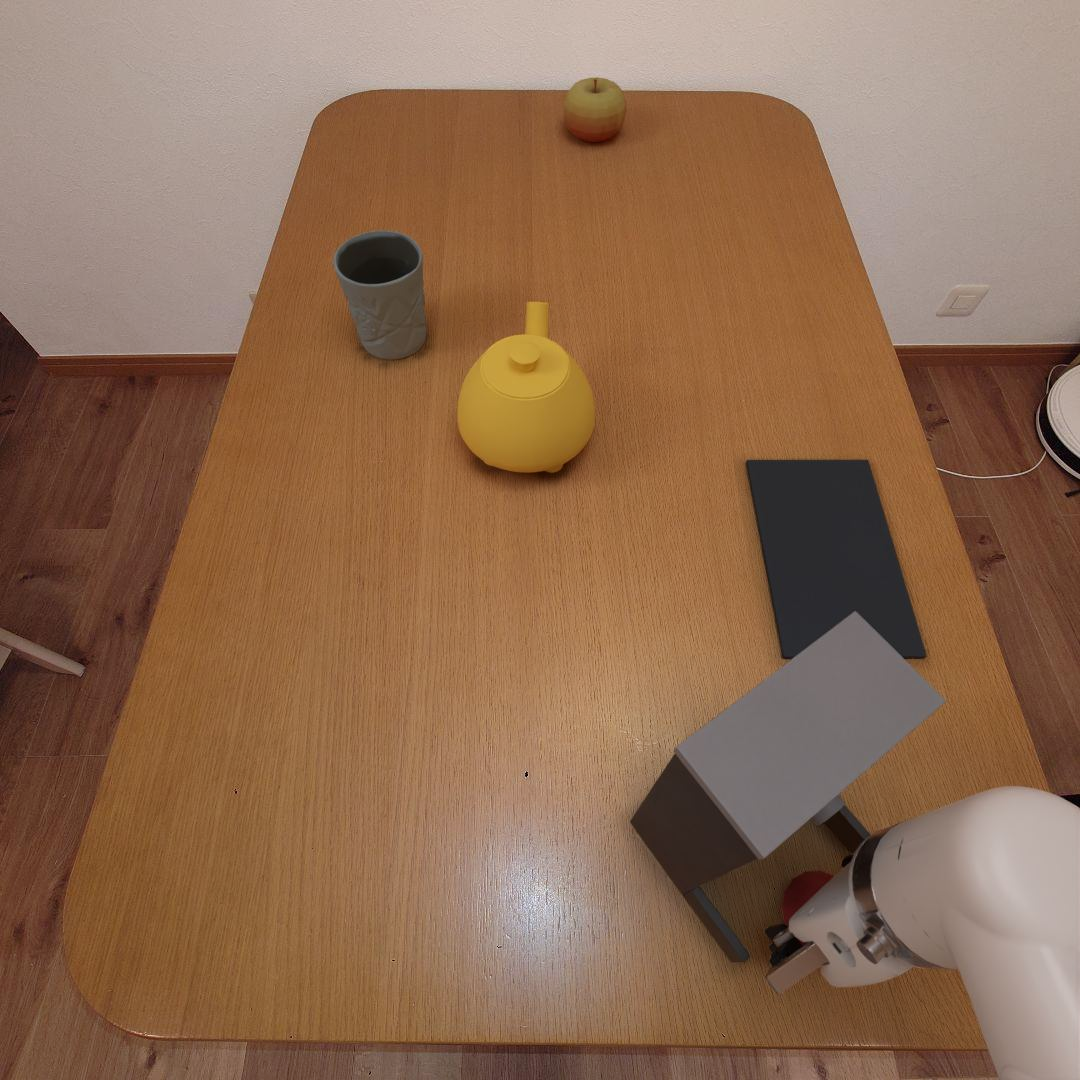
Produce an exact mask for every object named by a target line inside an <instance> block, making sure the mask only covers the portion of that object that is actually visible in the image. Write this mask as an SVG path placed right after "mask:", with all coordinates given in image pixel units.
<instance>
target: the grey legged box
mask: <svg viewBox="0 0 1080 1080" xmlns="http://www.w3.org/2000/svg"><path fill="white" fill-rule="evenodd" d="M946 703H947V700H946V699H945V697H943V696H942V694H941V693H939V692H938V690H936V689H935V688H934V687H933V686H932V684H931V683H930V682H928V681H927V680H926V678H924V677H923V676H922V675H921V673H919V672H918V671H917V670H916V669H915V668H914V667H913V666H912V665H911V664H910V663H909V662H908V661H907V659H906V658H903V657H902V656H901V655H900V654H899V653H898V652H897V651H896V650H895V649H894V648H893V647H892V646H891V645H890V644H889V643H888V642H887V641H885V640H884V639H883V638H882V637H881V636H880V635H879V634H878V633H877V632H876V631H875V630H874V629H873V628H872V627H871V626H870V625H869V624H868V623H867V622H866V621H865V620H864V619H863V618H862V617H861V616H860V615H859V614H858V613H857V612H856V611H855V612H853V613H852V614H851V615H849V616H848V617H847V618H845V619H844V620H843V621H841V622H840V623H839V624H837V625H836V626H835V627H833V628H832V629H831V630H829V631H828V632H827V633H826V634H824V635H823V636H822V637H820V638H819V639H818V640H816V641H815V642H814V643H812V644H811V645H810V646H808V647H807V648H806V649H804V650H803V651H802V652H800V653H799V654H798V655H796V656H795V657H794V658H793V659H789V660H788V662H786V663H784V664H783V665H782V666H781V667H779V668H778V669H777V670H775V671H773V673H771V674H770V675H769V676H768V677H766V678H765V679H763V680H762V681H761V682H759V683H758V684H757V685H755V686H754V687H753V688H752V689H751V690H749V691H748V692H746V693H745V694H743V695H742V696H741V697H740V698H738V699H737V700H736V701H734V702H733V703H731V704H730V705H729V706H728V707H727V708H725V709H724V710H723V711H721V712H720V713H718V714H717V715H716V716H715V717H713V718H712V719H711V720H709V721H707V723H706V724H704V725H703V726H701V727H700V728H698V729H697V730H696V731H694V732H693V733H692V734H691V735H690V736H688V737H687V738H686V739H684V740H683V741H682V742H680V743H678V745H676V747H675V748H674V749H673V753H674V754H673V756H672V757H671V759H670V760H669V761H668V763H667V764H666V765H665V767H664V769H663V770H662V771H661V773H660V775H659V777H658V778H657V780H656V781H655V782H654V783H653V785H652V787H651V789H650V790H649V791H648V793H647V794H646V796H645V798H644V799H643V800H642V802H641V804H640V805H639V807H638V809H637V810H636V812H635V813H634V815H633V816H632V817H631V819H630V820H629V824H630V825H631V826H632V827H633V829H634V830H635V832H636V833H637V835H638V836H639V837H640V839H641V840H642V841H643V843H644V844H645V846H646V847H647V848H648V850H649V851H650V853H651V854H652V855H653V856H654V858H655V860H656V861H657V862H658V863H659V865H660V866H661V868H662V869H663V870H664V872H665V873H666V875H667V876H668V878H669V879H670V880H671V882H672V883H673V884H674V886H675V887H676V888H677V890H678V892H679V893H680V894H681V895H682V897H683V898H684V899H685V901H686V902H687V904H688V905H689V907H690V908H691V909H692V911H693V912H694V913H695V915H696V916H697V917H698V919H699V920H700V921H701V923H702V925H703V926H704V927H705V929H706V930H707V931H708V933H709V934H710V936H711V937H712V938H713V940H714V941H715V943H716V944H717V945H718V947H719V948H720V950H721V951H722V952H723V954H724V955H725V957H726V958H727V959H728V960H729V962H730V963H731V964H732V963H733V964H735V963H736V964H737V963H740V964H741V963H743V964H744V963H746V962H747V961H748V960H749V959H750V958H751V954H750V952H749V951H748V950H747V948H746V947H745V946H744V944H743V943H742V941H741V939H739V938H738V936H737V935H736V933H735V932H734V931H733V929H732V928H731V926H730V925H729V923H727V921H726V920H725V919H724V917H723V915H722V914H721V913H720V912H719V910H718V909H717V908H716V906H715V905H714V903H713V902H712V901H711V900H710V898H709V896H708V895H707V893H705V891H704V890H703V889H702V887H701V886H703V885H705V884H707V883H709V882H711V881H713V880H716V879H718V878H720V877H722V876H724V875H727V874H729V873H731V872H732V871H735V870H736V869H739V868H741V867H743V866H745V865H748V864H749V863H751V862H754V861H756V860H759V861H762V860H764V859H766V858H767V857H768V856H769V855H770V854H771V853H773V852H774V851H775V850H776V849H777V848H778V847H779V846H781V845H782V844H783V843H785V841H787V840H788V839H789V838H790V837H792V836H793V835H794V834H795V833H796V832H798V830H800V829H801V828H802V827H803V826H804V825H806V823H807V822H808V821H810V820H811V822H812V823H813V824H814V825H815V826H816V827H819V826H821V825H822V824H824V823H825V824H826V825H827V826H828V828H829V829H830V830H831V831H832V832H833V833H834V834H835V836H836V837H837V838H838V839H839V840H840V842H841V843H842V844H843V845H844V846H845V847H846V849H847V850H848V851H849V852H850V853H851V855H853V854H854V853H855V851H856V850H857V848H858V847H859V845H860V844H861V843H862V842H863V841H864V840H865V839H866V838H867V837H868V836H870V835H871V834H872V833H870V832H869V831H868V830H867V828H866V827H865V826H864V825H863V824H862V823H861V821H859V819H858V818H857V817H856V816H855V815H854V814H853V812H852V811H851V810H850V809H849V808H848V807H847V806H846V801H845V800H844V799H843V797H841V795H840V794H841V793H842V792H843V791H845V790H846V789H847V788H848V787H849V786H850V785H852V784H853V783H854V782H855V781H856V780H857V779H859V778H860V777H861V776H862V775H863V774H864V773H865V772H867V771H868V770H870V768H872V766H874V765H875V764H876V763H877V762H878V761H879V760H881V759H882V758H883V757H884V756H885V755H886V754H888V753H889V752H890V751H891V750H892V749H893V748H895V747H896V746H897V745H898V744H900V742H902V741H903V740H904V739H905V738H906V737H908V735H910V734H911V733H912V732H914V731H915V729H917V728H918V727H919V726H920V725H921V724H922V723H924V722H925V721H926V720H927V719H928V718H930V717H931V716H932V715H933V714H935V712H936V711H938V710H939V709H941V707H942V706H943V705H944V704H946Z"/></svg>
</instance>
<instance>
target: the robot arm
mask: <svg viewBox="0 0 1080 1080" xmlns="http://www.w3.org/2000/svg"><path fill="white" fill-rule="evenodd" d="M870 834H871V835H870V836H868V837H867V838H866V839H865V840H864V841H863V842H862V843H861V844H860V845H859V847H858V848H857V850H856V851H855V853H853V854H850V855H848V856H845V857H844V858H843V859H842V860H841V861H840V866H841V868H842V869H840V870H839V871H838V872H837V873H836V874H835V876H834V877H833V878H832V879H831V880H830V881H829V882H828V883H826V884H825V885H824V886H823V887H822V888H821V889H820V890H819V891H818V892H817V893H816V894H815V895H814V896H813V897H812V898H811V899H810V900H809V901H808V902H806V903H805V904H804V905H803V906H802V907H801V908H800V909H799V910H798V911H797V912H796V913H795V914H794V915H793V916H792V917H791V918H790V920H789V927H788V926H787V925H786V924H785V923H780V924H774V925H769V926H767V927H766V928H765V929H764V930H763V931H764V934H765V935H766V936H767V938H768V939H769V941H770V942H771V943H770V944H769V945H768V949H769V951H770V958H769V960H768V963H769V964H770V965H771V966H770V967H768V969H767V972H766V973H765V976H764V978H765V980H766V982H767V983H768V984H769V985H770V987H771V988H772V989H773V991H774V992H775V994H776V995H777V996H779V995H780V996H781V994H783V993H784V992H786V991H787V990H789V989H790V988H791V987H793V986H794V985H796V984H797V983H799V982H800V981H801V980H803V979H804V978H806V977H807V976H809V975H810V974H812V973H813V972H814V971H815V970H817V969H819V973H820V975H821V976H822V977H823V979H825V981H826V982H827V983H828V984H829V985H830V986H832V987H835V988H857V987H865V986H871V985H872V986H873V985H876V984H880V983H884V982H887V981H889V980H893V979H895V978H897V977H899V976H901V975H904V974H905V973H906V972H908V971H910V970H912V969H913V968H917V969H921V970H922V969H923V970H941V971H943V970H944V971H945V970H946V971H950V970H951V971H958V973H959V974H960V978H961V980H962V982H963V985H964V988H965V990H966V993H967V996H968V997H969V998H968V999H969V1001H970V1004H971V1007H972V1009H973V1012H974V1015H975V1017H976V1020H977V1023H978V1026H979V1029H980V1031H981V1034H982V1038H983V1039H984V1043H985V1045H986V1048H987V1051H988V1053H989V1056H990V1059H991V1061H992V1064H993V1066H994V1069H995V1073H996V1074H997V1077H998V1080H1080V807H1078V806H1077V805H1075V804H1074V803H1072V802H1070V801H1068V800H1066V799H1065V798H1063V797H1061V796H1059V795H1057V794H1055V793H1052V792H1049V791H1045V790H1042V789H1039V788H1035V787H1029V786H1022V785H1005V786H998V787H993V788H990V789H989V788H988V789H986V790H982V791H980V792H979V791H978V792H976V793H974V794H972V795H969V796H966V797H964V798H961V799H959V800H956V801H953V802H951V803H948V804H946V805H942V806H940V807H938V808H935V809H932V810H929V811H926V812H924V813H922V814H919V815H917V816H914V817H911V818H908V819H906V820H903V821H901V822H897V823H895V824H893V825H890V826H888V827H884V828H882V829H880V830H877V831H875V832H873V833H870ZM797 938H798V939H799V940H801V941H802V942H805V943H806V945H804V946H803V945H802V944H801V943H800V942H799V940H798V939H797Z"/></svg>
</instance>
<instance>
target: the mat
mask: <svg viewBox="0 0 1080 1080" xmlns="http://www.w3.org/2000/svg"><path fill="white" fill-rule="evenodd" d="M745 467H746V471H747V477H748V482H749V488H750V493H751V498H752V504H753V509H754V515H755V519H756V524H757V525H756V526H757V530H758V536H759V540H760V545H761V550H762V551H761V552H762V557H763V562H764V566H765V567H764V568H765V572H766V578H767V584H768V588H769V593H770V598H771V604H772V609H773V615H774V619H775V624H776V625H775V626H776V629H777V631H776V632H777V636H778V642H779V647H780V651H781V658H782V659H783V660H791V659H793V658H794V657H795V656H796V655H798V654H799V653H800V652H802V651H803V650H804V649H806V648H807V647H808V646H810V645H811V644H812V643H814V642H815V641H816V640H818V639H819V638H820V637H822V636H823V635H824V634H826V633H827V632H828V631H829V630H831V629H832V628H833V627H835V626H836V625H837V624H839V623H840V622H841V621H843V620H844V619H845V618H847V617H848V616H849V615H851V614H852V613H853V612H855V611H856V612H857V613H858V614H859V615H860V616H861V617H862V618H863V619H864V620H865V621H866V622H867V623H868V624H869V625H870V626H871V627H872V628H873V629H874V630H875V631H876V632H877V633H878V634H879V635H880V636H881V637H882V638H883V639H884V640H885V641H887V642H888V643H889V644H890V645H891V646H892V647H893V648H894V649H895V650H896V651H897V652H898V653H899V654H900V655H901V656H902V657H903V658H904V659H925V658H927V653H926V649H925V646H924V642H923V638H922V634H921V632H920V628H919V625H918V622H917V618H916V615H915V612H914V608H913V605H912V602H911V599H910V595H909V593H908V592H909V591H908V588H907V584H906V581H905V578H904V575H903V571H902V567H901V565H900V562H899V559H898V555H897V551H896V548H895V544H894V541H893V538H892V535H891V531H890V528H889V525H888V521H887V518H886V515H885V511H884V507H883V505H882V501H881V498H880V495H879V491H878V487H877V483H876V481H875V477H874V475H873V471H872V467H871V464H870V460H869V459H746V461H745Z"/></svg>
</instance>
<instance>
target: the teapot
mask: <svg viewBox="0 0 1080 1080" xmlns="http://www.w3.org/2000/svg"><path fill="white" fill-rule="evenodd" d="M549 319H550V303H549V302H543V301H526V312H525V324H524V334H515V335H510V336H507V337H503V338H501V339H500V340H498V341H496V342H494V343H493V344H491V346H489V347H487V348H486V350H485V351H484V352H482V354H481V355H480V356H479V357H478V358H477V360H476V361H475V362H474V364H472V366H471V368H470V369H469V371H468V372H467V375H466V376H465V378H464V381H463V383H462V385H461V388H460V391H459V396H458V399H457V400H458V401H457V407H456V420H457V427H458V432H459V434H460V436H461V438H462V441H463V442H464V443H465V445H466V446H467V448H468V449H469V450H470V451H471V452H472V453H473V454H474V455H475V456H476V457H477V458H479V459H480V460H481V461H483V463H485V464H486V465H487V466H490V467H495V468H497V469H501V470H505V471H508V472H515V473H524V474H525V473H526V474H527V473H539V472H546V473H557V472H559V471H560V470H561V469H563V467H564V464H566V463H568V462H570V461H571V460H572V459H573V458H575V457H576V456H577V455H578V454H579V453H581V452H582V450H583V449H584V448H585V447H586V445H587V444H588V443H589V440H590V439H591V437H592V435H593V432H594V428H595V424H596V403H595V398H594V394H593V390H592V387H591V384H590V382H589V380H588V377H587V375H586V374H585V371H584V370H583V369H582V368H581V367H580V365H579V363H578V362H577V361H576V360H575V358H574V357H572V355H570V353H568V351H567V350H566V349H565V348H563V347H562V346H561V345H559V344H558V343H557V342H556V341H553V340H552V339H550V338H549V330H550V329H549V328H550V327H549V326H550V325H549V324H550V322H549V321H550V320H549Z"/></svg>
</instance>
